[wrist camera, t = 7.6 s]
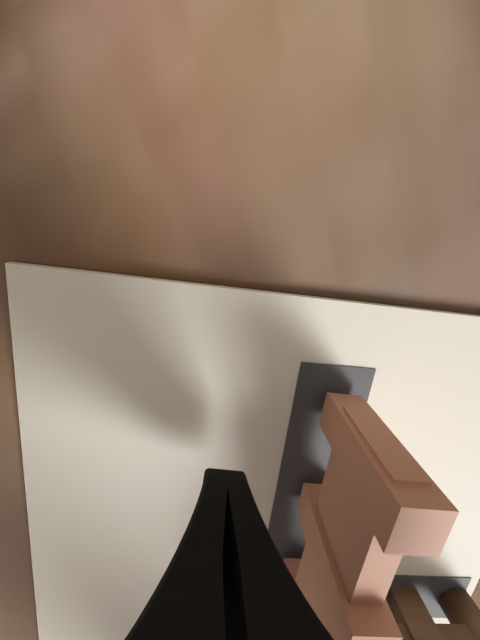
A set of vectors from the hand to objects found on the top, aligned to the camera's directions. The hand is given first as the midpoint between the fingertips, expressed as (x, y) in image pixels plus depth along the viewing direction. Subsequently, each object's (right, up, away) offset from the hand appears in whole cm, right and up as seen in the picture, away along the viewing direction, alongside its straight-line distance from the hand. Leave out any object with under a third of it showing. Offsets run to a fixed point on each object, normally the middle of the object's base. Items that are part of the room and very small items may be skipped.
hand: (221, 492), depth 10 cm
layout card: (+2, -4, +4) cm, 6 cm away
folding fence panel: (+4, -2, +2) cm, 5 cm away
